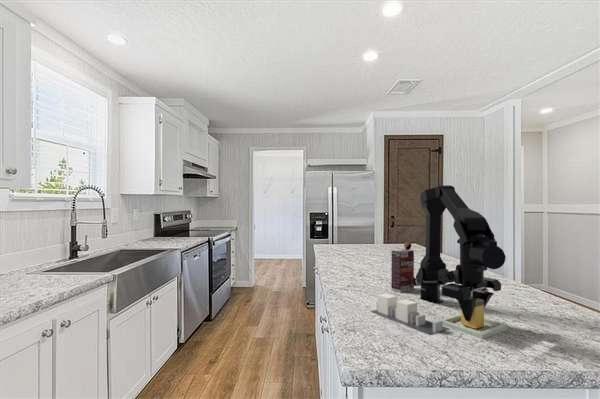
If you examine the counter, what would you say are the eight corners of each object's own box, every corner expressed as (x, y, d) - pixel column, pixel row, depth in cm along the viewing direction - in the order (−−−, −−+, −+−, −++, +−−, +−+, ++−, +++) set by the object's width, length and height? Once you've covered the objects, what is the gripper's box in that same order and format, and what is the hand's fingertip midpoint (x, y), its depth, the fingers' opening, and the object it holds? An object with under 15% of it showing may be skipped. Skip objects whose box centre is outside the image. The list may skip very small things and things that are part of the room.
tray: (464, 320, 99) (464, 311, 99) (508, 334, 88) (508, 324, 88) (438, 328, 92) (438, 319, 92) (482, 344, 82) (482, 334, 82)
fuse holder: (388, 311, 107) (388, 299, 107) (449, 334, 88) (449, 319, 88) (369, 316, 103) (369, 303, 103) (430, 341, 84) (430, 325, 84)
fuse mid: (406, 316, 98) (405, 299, 98) (417, 320, 95) (416, 302, 95) (396, 318, 96) (396, 301, 96) (407, 322, 93) (407, 305, 93)
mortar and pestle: (397, 281, 147) (397, 241, 147) (412, 281, 148) (411, 241, 148) (403, 285, 140) (403, 243, 141) (418, 285, 141) (418, 242, 141)
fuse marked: (469, 321, 93) (469, 296, 93) (484, 325, 89) (484, 299, 89) (461, 324, 91) (460, 298, 91) (475, 328, 87) (475, 302, 87)
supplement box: (400, 292, 129) (400, 252, 129) (390, 290, 133) (390, 250, 133) (414, 289, 134) (414, 250, 134) (405, 287, 138) (404, 248, 138)
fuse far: (387, 309, 105) (387, 293, 105) (396, 312, 101) (396, 296, 101) (378, 311, 103) (377, 295, 103) (387, 315, 99) (387, 298, 99)
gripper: (464, 255, 102) (464, 305, 102) (424, 260, 92) (424, 317, 92) (501, 260, 93) (502, 316, 92) (461, 267, 83) (462, 330, 83)
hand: (472, 319), depth 90 cm, fingers closed on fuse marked, 4 cm apart
